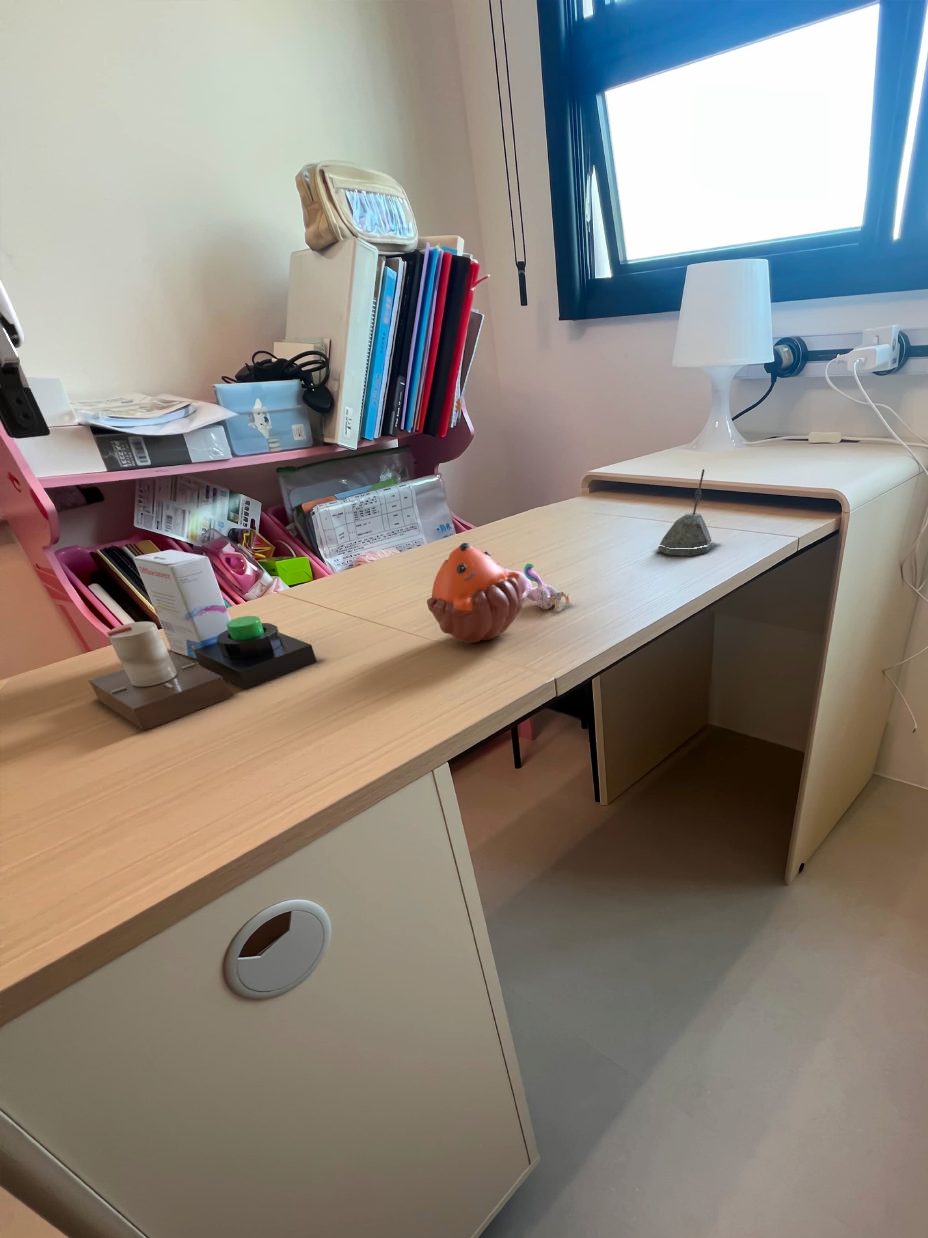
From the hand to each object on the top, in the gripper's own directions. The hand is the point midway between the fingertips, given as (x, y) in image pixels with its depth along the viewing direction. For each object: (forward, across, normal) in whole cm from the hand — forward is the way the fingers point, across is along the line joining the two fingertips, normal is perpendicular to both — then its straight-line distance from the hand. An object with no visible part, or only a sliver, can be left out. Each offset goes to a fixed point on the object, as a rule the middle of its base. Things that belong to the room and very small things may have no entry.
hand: (30, 435), depth 64 cm
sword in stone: (+25, +29, +78) cm, 87 cm away
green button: (+21, +11, +9) cm, 26 cm away
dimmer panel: (+25, +11, -2) cm, 27 cm away
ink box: (+25, +1, +8) cm, 26 cm away
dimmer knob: (+22, +11, -2) cm, 25 cm away
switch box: (+25, +11, +9) cm, 29 cm away
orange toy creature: (+25, +28, +30) cm, 48 cm away
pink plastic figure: (+25, +23, +43) cm, 55 cm away
